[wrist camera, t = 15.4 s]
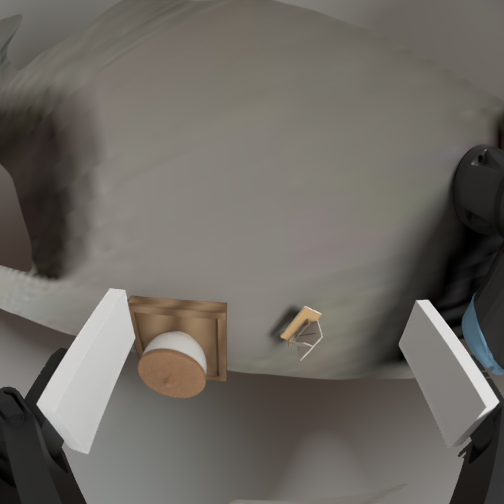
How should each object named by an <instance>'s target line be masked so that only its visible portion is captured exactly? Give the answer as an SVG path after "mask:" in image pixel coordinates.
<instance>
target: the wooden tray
mask: <svg viewBox="0 0 504 504" xmlns="http://www.w3.org/2000/svg"><path fill="white" fill-rule="evenodd" d="M128 307H129V312H130V316H131V321H132V326H133V330H134V334H135V340H134V343H135V347H136V350H137V354H138V358H139V360H140V358H141V357H142V355H143V353H144V351H145V349H146V347H147V346H148V344H149V343H150V342H151V341H152V340H153V339H154V338H155V337H157V336H158V335H160V334H163V333H166V332H172V331H180V332H184V333H186V334H188V335H190V336H191V337H192V338H193V339H194V340H196V341H197V342H198V343H199V345H200V346H201V348H202V349H203V351H204V354H205V357H206V365H207V371H206V380H211V381H224V382H226V375H227V303H219V302H202V301H187V300H174V299H161V298H150V297H138V296H131V298H130V299H129V301H128Z"/></svg>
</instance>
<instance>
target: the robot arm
mask: <svg viewBox="0 0 504 504" xmlns="http://www.w3.org/2000/svg"><path fill="white" fill-rule="evenodd" d="M454 204H455V208H456V212H457V214H458V216H459V218H460V220H461V221H462V222H463V224H465V225H466V226H467V227H469V228H470V229H472V230H473V231H475V232H477V233H480V234H487V235H494V236H501V237H502V238H504V151H503V150H501V149H499V148H497V147H494V146H490V145H478V146H476V147H474V148H472V149H471V150H470V151H469V152H468V153H467V154H466V155H465V156H464V158H463V159H462V161H461V163H460V165H459V167H458V170H457V173H456V177H455V181H454ZM462 329H463V334H464V337H465V340H466V342H467V344H468V346H469V348H470V349H471V351H472V352H473V354H474V355H475V356H476V358H477V359H478V360H479V361H478V360H477V359H476V358H475V357H474V356H473V355H469V354H468V352H467V351H466V350H465V348H464V347H463V345H462V344H461V343H460V341H459V340H458V338H457V337H456V336H455V334H454V333H453V332H452V330H451V329H450V327H449V326H448V325H447V323H446V322H445V321H444V320H443V318H442V317H441V316H440V314H439V313H438V312H437V310H436V309H435V308H434V307H433V305H432V304H431V303H430V302H429V300H416V301H415V304H414V307H413V309H412V312H411V315H410V317H409V320H408V322H407V325H406V327H405V330H404V332H403V335H402V337H401V339H400V342H399V344H398V345H399V347H400V349H401V351H402V352H403V354H404V356H405V358H406V360H407V362H408V364H409V366H410V368H411V370H412V372H413V374H414V376H415V378H416V380H417V382H418V384H419V386H420V388H421V390H422V392H423V394H424V396H425V398H426V400H427V403H428V405H429V407H430V409H431V411H432V413H433V415H434V418H435V420H436V422H437V424H438V427H439V429H440V431H441V434H442V436H443V438H444V441H445V443H446V446H447V448H448V449H450V448H453V447H456V446H458V445H461V444H462V443H463V442H464V441H465V440H466V439H467V438H468V437H469V436H470V438H471V440H472V441H471V442H470V443H469V444H468V445H467V446H466V447H465V448H464V449H463V450H462V451H461V452H460V453H459V455H458V456H459V457H460V456H461V455H462V454H463V453H464V452H466V455H464V457H463V458H464V462H463V465H462V469H461V472H460V475H459V479H458V482H457V484H456V487H455V490H454V493H453V496H452V498H451V501H450V503H449V504H504V398H503V397H502V395H501V394H500V392H499V390H498V389H497V387H496V386H495V384H494V382H493V381H492V379H491V378H489V377H490V376H489V375H488V373H487V372H485V369H484V367H483V366H485V367H486V368H489V369H490V371H491V372H492V373H494V374H497V375H502V374H504V240H503V242H502V245H501V247H500V249H499V251H498V253H497V255H496V257H495V259H494V261H493V263H492V265H491V267H490V269H489V271H488V273H487V275H486V276H485V278H484V280H483V282H482V284H481V285H480V287H479V289H478V290H477V292H476V293H475V294H474V295H473V297H472V301H471V303H470V305H469V307H468V308H467V310H466V312H465V314H464V316H463V319H462ZM134 340H135V334H134V330H133V326H132V321H131V316H130V312H129V307H128V302H127V297H126V292H125V290H120V289H109V291H108V292H107V293H106V295H105V296H104V298H103V299H102V300H101V302H100V303H99V305H98V306H97V308H96V309H95V310H94V312H93V313H92V315H91V316H90V318H89V319H88V321H87V322H86V324H85V325H84V327H83V328H82V330H81V331H80V333H79V334H78V336H77V337H76V339H75V340H74V342H73V344H72V345H71V347H70V348H69V349H64V348H60V349H59V350H58V351H56V352H55V353H54V354H52V356H51V357H50V359H49V360H48V362H47V363H46V365H45V367H44V368H43V369H42V371H41V374H40V375H39V376H38V377H37V379H36V380H35V382H34V384H33V386H32V387H31V389H30V390H29V392H28V394H27V396H26V397H25V399H23V397H22V396H21V394H20V393H19V391H17V390H16V389H15V388H12V387H3V388H1V389H0V504H87V503H86V501H85V499H84V497H83V495H82V493H81V491H80V489H79V487H78V484H77V482H76V480H75V478H74V475H73V473H72V471H71V468H70V466H69V463H68V461H67V458H66V455H65V453H64V451H63V449H62V448H61V447H62V445H63V442H64V441H65V442H66V444H67V445H68V446H69V447H70V448H71V449H74V450H76V451H79V452H82V453H85V454H88V453H89V450H90V448H91V445H92V442H93V440H94V437H95V434H96V432H97V429H98V426H99V424H100V421H101V418H102V416H103V413H104V411H105V408H106V406H107V403H108V401H109V398H110V396H111V393H112V391H113V388H114V386H115V384H116V381H117V379H118V376H119V374H120V372H121V369H122V367H123V365H124V362H125V360H126V358H127V356H128V353H129V351H130V349H131V347H132V344H133V342H134ZM482 365H483V366H482Z"/></svg>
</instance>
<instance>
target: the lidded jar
mask: <svg viewBox="0 0 504 504" xmlns="http://www.w3.org/2000/svg"><path fill="white" fill-rule="evenodd" d="M206 371H207V365H206V357H205V354H204V351H203V349H202V348H201V346H200V345H199V343H198V342H197V341H196V340H194V339H193V338H192V337H191V336H190V335H188V334H186V333H184V332H180V331H172V332H166V333H163V334H160V335H158V336H157V337H155V338H154V339H153V340H152V341H151V342H150V343H149V344H148V346H147V347H146V349H145V351H144V353H143V355H142V357H141V358H140V360H139V363H138V373H139V376H140V378H141V379H142V381H143V382H144V383H145V384H146V385H147V386H148V387H150V388H151V389H153V390H154V391H156V392H158V393H160V394H162V395H165V396H169V397H175V398H187V397H192V396H195V395H197V394H198V393H200V392H201V391H202V390H203V389H204V387H205V383H206Z"/></svg>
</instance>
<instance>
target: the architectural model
mask: <svg viewBox="0 0 504 504" xmlns="http://www.w3.org/2000/svg"><path fill="white" fill-rule="evenodd" d="M320 316H321V313H319V312H317V311H315V309H311V308H308V307H306V306H304V307H303V308H302V310H301V311H300V312H299V313H298V315H297V316H296V317H295V318H294V320H293V321H292V322H291V323H290V325H289V326H288V327H287V328H286V329H285V331H284V332H283V333H282V334H281V336H280V337H281V338H283V339H286V340H288V346H289V347H290V345H291V344H292V345H295V346H298V352H299V358H300V360H302V359H303V358H304V357H305V356H306V355H307V354H308V353H309V352H310V351H311V349H312V348H313V347H314V346H315V345H316V344H317V343H318V342H319V341H320V340H321V338H322V337H323V336H322V332H321V329H320V325H319V322H318V318H319V317H320ZM289 343H290V344H289Z"/></svg>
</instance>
